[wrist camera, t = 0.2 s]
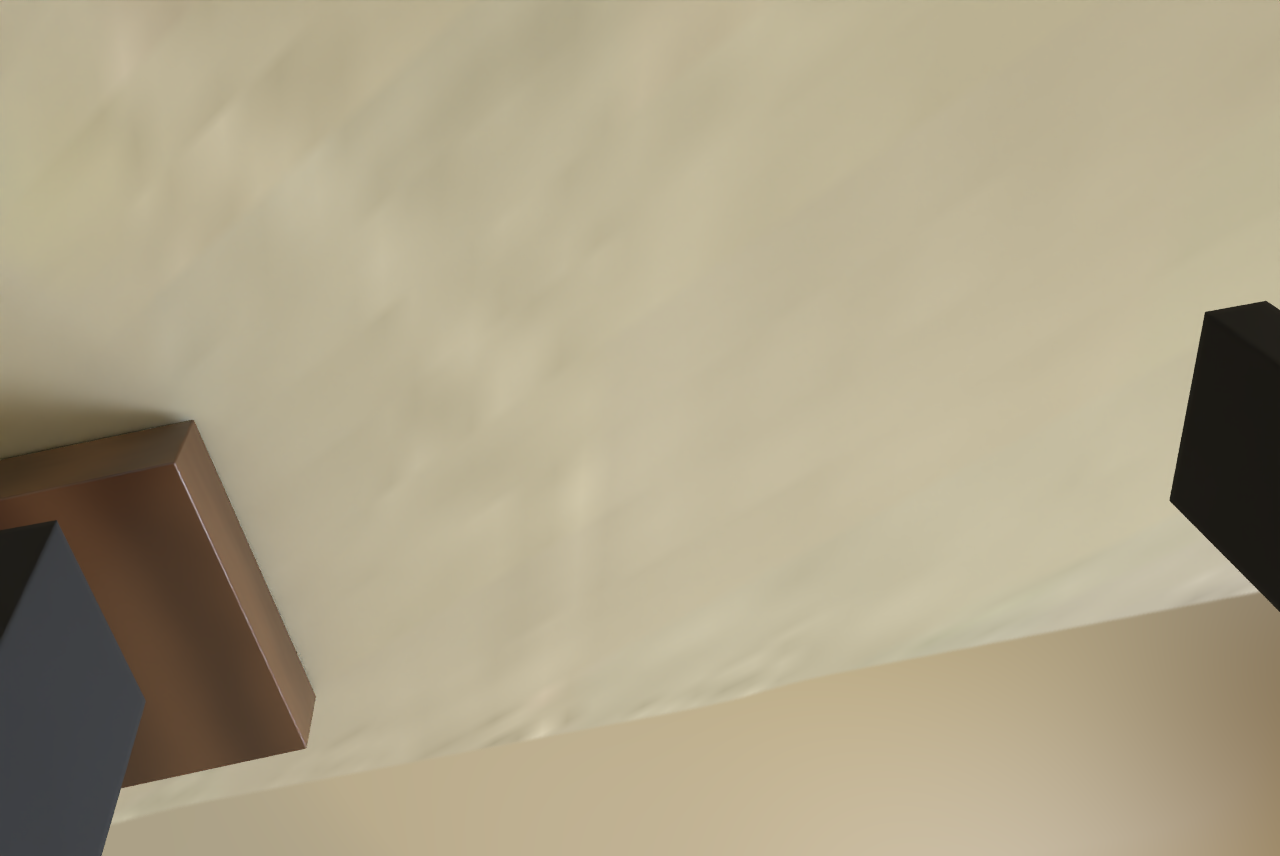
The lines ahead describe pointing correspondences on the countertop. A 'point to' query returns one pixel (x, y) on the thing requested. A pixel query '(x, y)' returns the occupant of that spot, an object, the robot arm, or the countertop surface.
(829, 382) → the countertop surface
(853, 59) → the countertop surface
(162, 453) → the shelf rack
